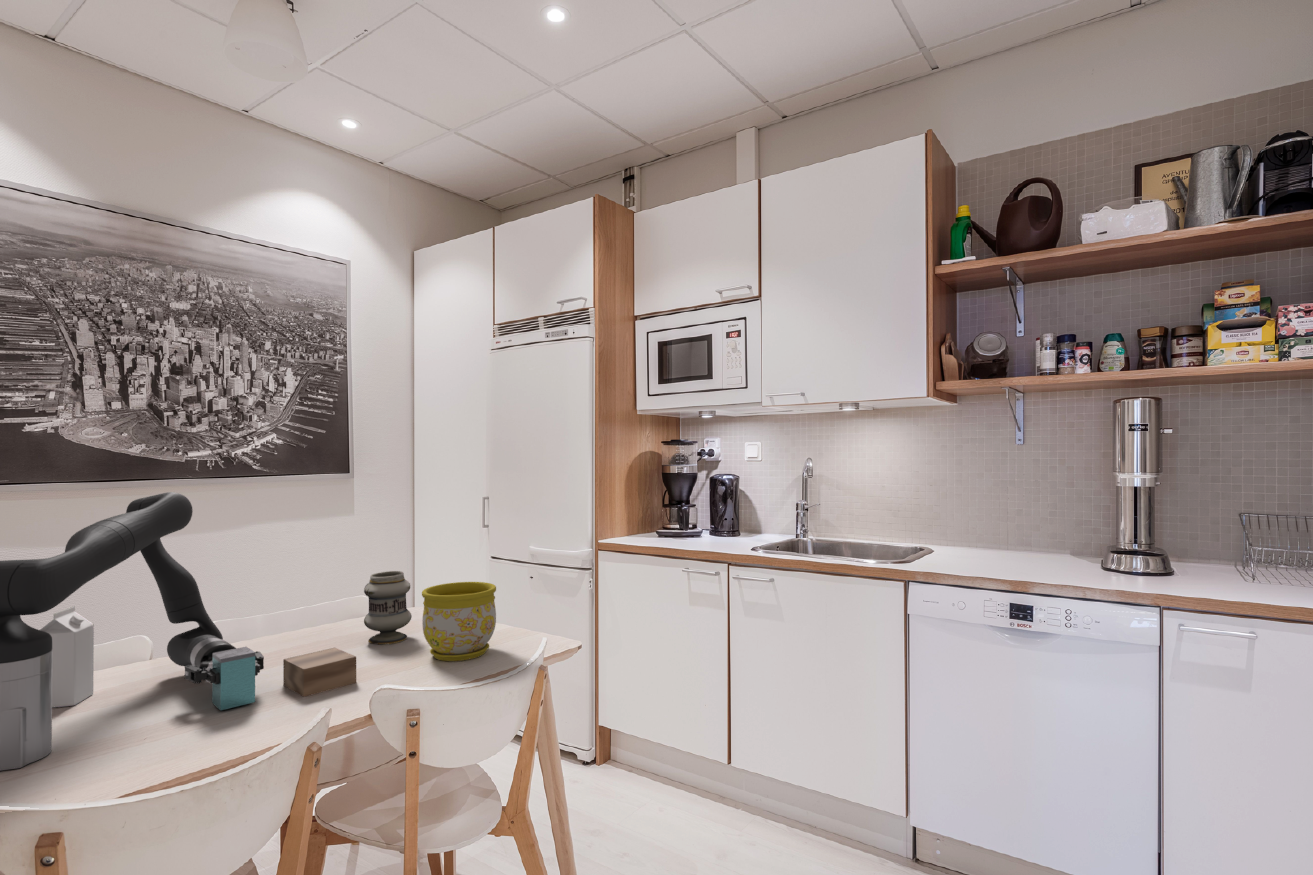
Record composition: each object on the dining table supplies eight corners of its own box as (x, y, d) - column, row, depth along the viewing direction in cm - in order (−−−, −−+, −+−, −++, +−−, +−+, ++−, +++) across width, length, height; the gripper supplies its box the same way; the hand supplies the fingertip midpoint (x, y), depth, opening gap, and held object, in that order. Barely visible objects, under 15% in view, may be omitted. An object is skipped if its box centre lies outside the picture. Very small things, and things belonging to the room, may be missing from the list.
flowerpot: (478, 666, 156) (478, 596, 157) (408, 663, 159) (407, 595, 159) (507, 644, 174) (507, 581, 174) (443, 642, 177) (443, 580, 177)
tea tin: (255, 701, 134) (255, 652, 134) (220, 710, 130) (220, 658, 130) (245, 694, 138) (246, 646, 138) (212, 702, 134) (212, 653, 134)
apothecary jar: (353, 644, 176) (353, 576, 177) (382, 632, 188) (382, 568, 188) (393, 647, 173) (393, 578, 174) (420, 634, 185) (420, 570, 185)
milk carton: (32, 710, 133) (32, 615, 133) (53, 697, 140) (54, 607, 140) (74, 706, 135) (75, 612, 135) (93, 694, 142) (94, 604, 142)
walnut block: (356, 683, 146) (356, 656, 146) (303, 698, 138) (303, 669, 138) (334, 673, 154) (334, 647, 154) (283, 686, 145) (283, 659, 145)
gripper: (174, 647, 139) (194, 664, 127) (252, 633, 149) (277, 647, 138) (174, 683, 139) (194, 703, 127) (251, 667, 149) (277, 684, 138)
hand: (237, 674), depth 132 cm, fingers closed on tea tin, 6 cm apart
